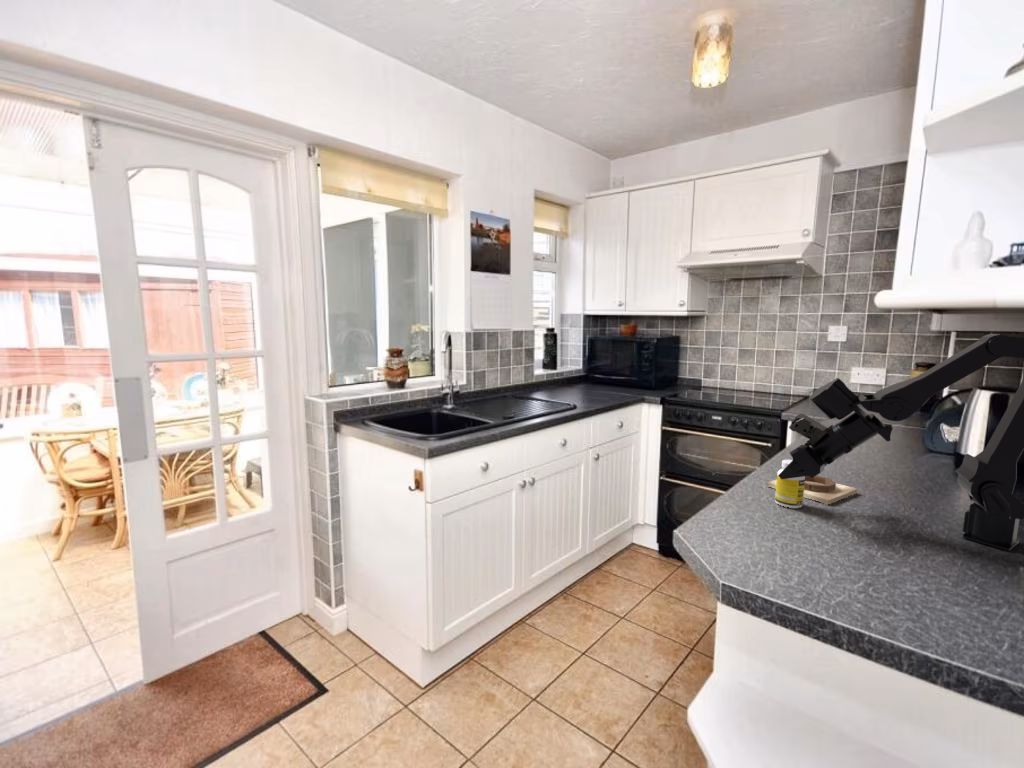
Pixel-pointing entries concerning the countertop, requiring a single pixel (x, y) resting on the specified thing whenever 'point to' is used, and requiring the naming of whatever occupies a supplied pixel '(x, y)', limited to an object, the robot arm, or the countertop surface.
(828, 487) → the socket board
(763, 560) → the countertop surface
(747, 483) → the countertop surface
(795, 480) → the supplement bottle
